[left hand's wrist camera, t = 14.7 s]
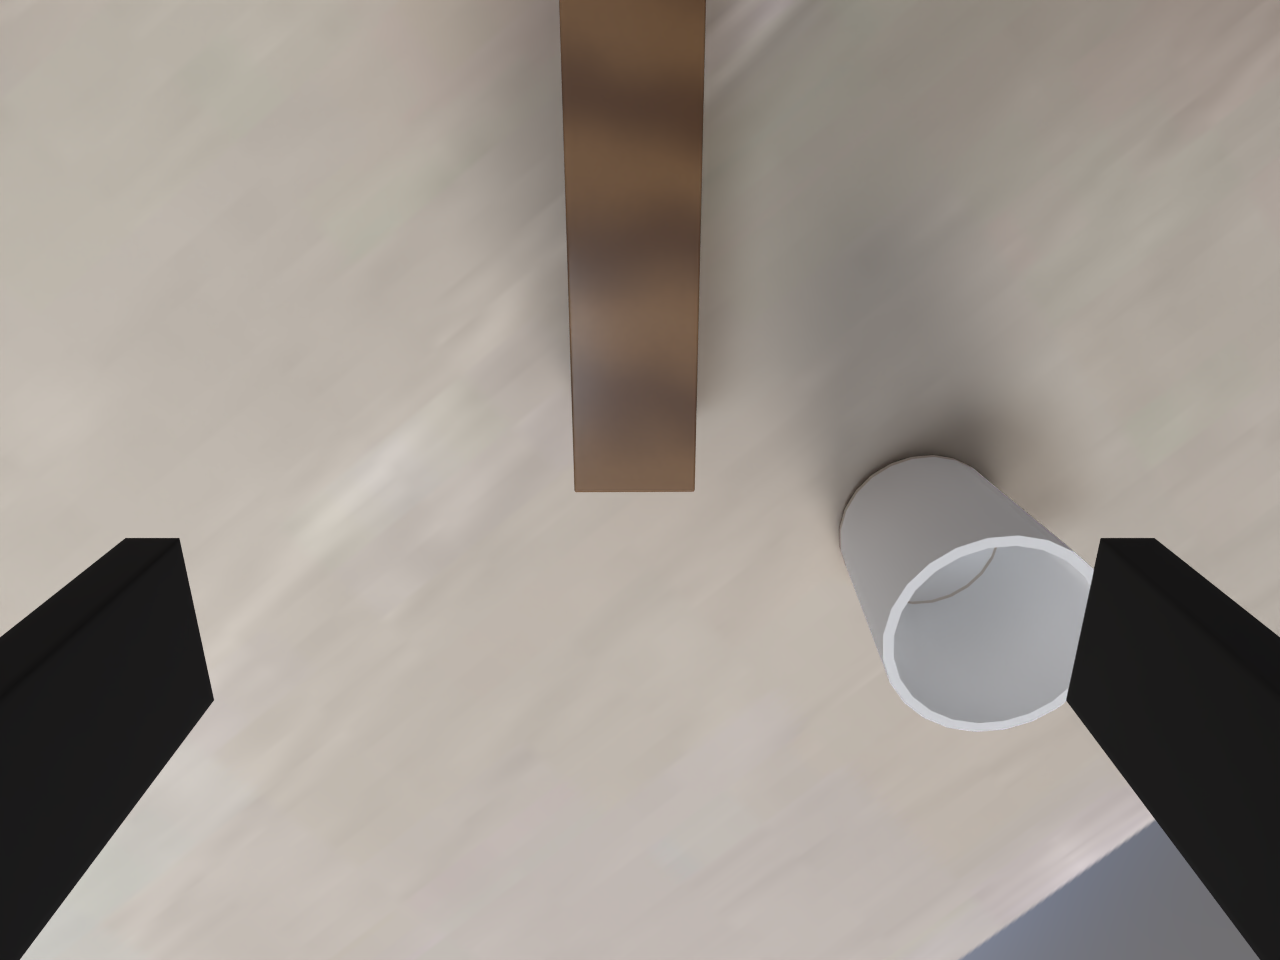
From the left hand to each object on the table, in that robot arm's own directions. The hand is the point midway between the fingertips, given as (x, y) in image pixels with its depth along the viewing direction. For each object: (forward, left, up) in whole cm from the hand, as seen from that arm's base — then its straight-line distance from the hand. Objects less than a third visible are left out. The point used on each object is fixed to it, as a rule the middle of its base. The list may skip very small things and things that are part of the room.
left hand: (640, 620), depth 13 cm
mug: (-7, +18, -29) cm, 35 cm away
